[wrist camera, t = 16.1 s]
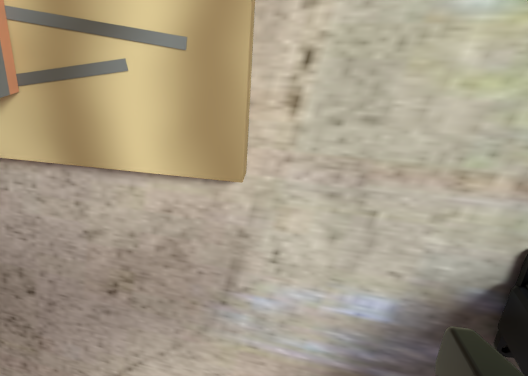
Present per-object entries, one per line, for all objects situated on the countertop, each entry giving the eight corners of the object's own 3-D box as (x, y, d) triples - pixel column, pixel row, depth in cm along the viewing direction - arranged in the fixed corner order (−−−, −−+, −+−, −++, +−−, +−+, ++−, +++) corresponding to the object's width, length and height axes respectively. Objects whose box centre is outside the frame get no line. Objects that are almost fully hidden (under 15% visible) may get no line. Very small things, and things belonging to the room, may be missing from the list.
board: (263, -166, 15) (259, -179, 14) (246, 172, 21) (241, 183, 20) (-106, -183, 16) (-138, -196, 15) (-31, 144, 22) (-50, 153, 21)
